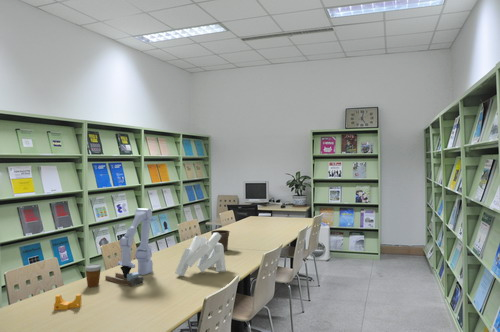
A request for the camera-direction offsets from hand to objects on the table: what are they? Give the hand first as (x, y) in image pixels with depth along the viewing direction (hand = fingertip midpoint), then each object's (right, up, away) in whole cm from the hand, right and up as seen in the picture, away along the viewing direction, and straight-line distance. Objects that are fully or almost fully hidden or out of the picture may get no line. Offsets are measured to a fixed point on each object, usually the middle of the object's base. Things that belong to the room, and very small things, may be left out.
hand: (126, 277), depth 241 cm
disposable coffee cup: (-18, -3, -8) cm, 20 cm away
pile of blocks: (+46, -3, +21) cm, 51 cm away
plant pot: (+52, -2, +89) cm, 103 cm away
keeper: (+5, -3, -4) cm, 7 cm away
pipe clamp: (-16, -3, -44) cm, 46 cm away
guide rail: (-2, -3, +1) cm, 4 cm away
